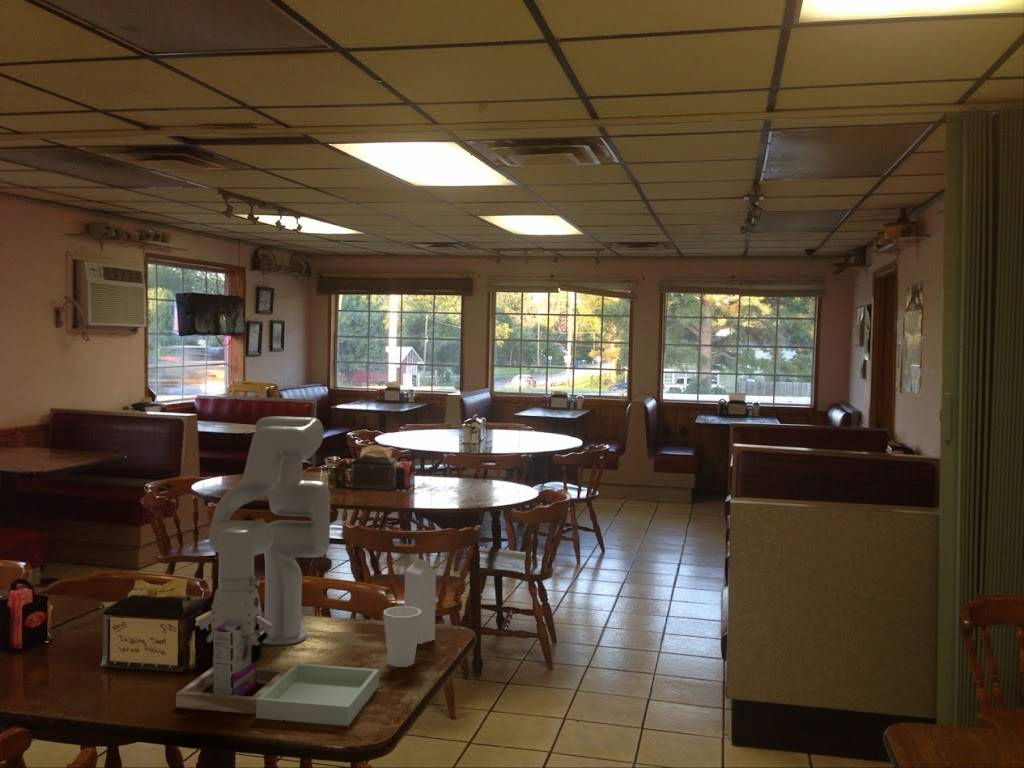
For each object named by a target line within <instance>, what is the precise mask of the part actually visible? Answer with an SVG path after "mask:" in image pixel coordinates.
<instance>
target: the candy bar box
mask: <svg viewBox="0 0 1024 768" xmlns="http://www.w3.org/2000/svg"><path fill="white" fill-rule="evenodd" d="M252 645H254V643H253V642H252V641H251V639H250V638H249V637H248V636H247V637H244V636H241V628H240V626H229V625H220V626H219V627H217V628H215V629H214V630H213V660H212V662H213V665H212V667H213V685H212V689H213V690H212V691H213V694H225V695H237V696H246V695H247V694H249V692H251V691H252V690H253V689H255V688H256V687H257V683H256V668H257V662H256V663H251V647H252Z"/></svg>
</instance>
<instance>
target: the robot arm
mask: <svg viewBox="0 0 1024 768" xmlns="http://www.w3.org/2000/svg"><path fill="white" fill-rule="evenodd" d="M323 438H324V426H323V424H322V421H320V419H318V418H316V417H311V416H308V417H307V416H305V417H303V416H283V415H282V416H279V415H278V416H277V415H275V416H265V417H262V418H260V419H258V420H257V421H256V424H255V432H254V434H253V436H252V439H251V443H250V447H249V451H248V455H247V460H246V463H245V468H244V471H243V477H242V479H241V480H239V482H237V483H236V484H234V485H233V486H232V487H231V488H229V490H228V491H226V493H224V495H223V496H222V497H220V500H219V501H218V502H217V505H216V506H215V509H214V511H213V516H212V520H211V522H210V527H209V533H208V543H209V547H210V549H211V550H213V552H215V553H217V554H218V588H216V590H215V593H214V597H213V602H212V607H211V614H209V615H208V616H207V615H206V616H205V617H203V618H201V619H198V621H197V624H198V627H199V629H200V630H201V634H202V635H203V636H204V637H205V638H206V642H207V643H208V655H209V660H210V661H213V630H214V629H215V628H217V627H219V626H220V625H229V626H240V628H241V636H244V637H247V636H248V637H249V638H250V639H251V641H252V642H253V643H254V645H252V647H251V663H256V664H257V662H258V661H260V660H261V658H262V656H263V655H262V653H263V652H262V648H263V647H262V646H263V644H265V645H270V646H271V645H272V646H284V645H285V646H286V645H293V644H297V643H300V642H303V641H304V640H305V639H306V638H307V637H308V636H307V635H308V634H307V633H308V632H307V631H306V630H305V629H303V628H302V621H303V620H304V616H303V614H302V589H303V588H302V586H303V584H302V582H303V574H302V570H301V567H300V565H299V563H298V561H297V560H296V558H321V557H323V556H325V555H326V554H327V552H328V550H329V546H330V535H331V534H330V533H331V525H330V523H331V492H330V490H329V489H330V488H329V487H328V485H327V483H326V482H324V481H320V480H305V479H304V478H303V461H307V460H308V459H310V458H311V457H312V456H313V455H314V454H315V453H316V452H317V450H318V449H319V448H320V447H321V445H322V442H323ZM266 496H268V503H269V505H268V506H269V509H270V511H271V512H272V513H273V514H274V515H277V516H289V517H308V518H310V520H292V519H291V520H290V519H286V520H285V519H284V520H283V519H280V520H273V521H271V522H269V523H268V522H265V521H262V520H261V521H259V520H239V519H238V520H233V519H232V520H231V519H230V518H232V515H233V514H234V513H235V512H236V511H237V510H238V509H239V508H241V507H242V506H244V505H246V504H249V503H250V502H253V501H256V500H258V499H261V498H263V497H266ZM262 554H264V567H265V568H264V572H265V573H264V577H265V578H264V617H262V612H261V611H262V610H261V602H260V595H259V590H258V588H257V587H258V586H260V579H256V575H255V556H258V555H262ZM256 586H257V587H256ZM255 587H256V588H255ZM209 622H210V627H209V625H208V623H209ZM261 628H263V630H262V631H260V630H261Z"/></svg>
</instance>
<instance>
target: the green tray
mask: <svg viewBox="0 0 1024 768" xmlns="http://www.w3.org/2000/svg"><path fill="white" fill-rule="evenodd" d="M288 670H289V671H287V672H286V673H285V674H284V675H283V676H282V677H281V678H280V679H279V680H277V681H276V682H275V683H274V684H273V685H272V686H271V687H270V688H269V689H267V690H266V691H265V692H264V693H263V694H262V695H261V696H260V697H258V698H257V699H256V714H255V718H256V719H262V720H273V721H274V720H275V721H283V720H285V721H286V722H295V723H309V724H319V725H321V724H322V725H332V726H343V727H349V726H350V725H351V724H352V723H353V721H354V719H356V717H357V715H358V714H359V713H360V712H361V710H362V709H363V708H364V707H363V706H365V705H366V704H367V703H368V702H369V700H370V699H371V698H372V696H373V695H374V694H375V693H376V692H377V690H378V689H379V687H380V669H377V668H376V669H375V668H365V667H364V668H363V667H362V668H361V667H351V666H350V667H349V666H336V665H334V666H333V665H325V664H322V665H321V664H311V663H308V664H307V663H295V664H294V665H293V666H292V667H291V668H290V669H288ZM377 688H378V689H377ZM374 692H375V693H374ZM373 693H374V694H373ZM370 697H371V698H370ZM366 702H367V703H366ZM362 707H363V708H362ZM359 711H360V712H359ZM285 721H284V722H285Z"/></svg>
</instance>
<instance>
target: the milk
mask: <svg viewBox="0 0 1024 768" xmlns="http://www.w3.org/2000/svg"><path fill="white" fill-rule="evenodd" d="M436 581H437V571H436V570H435V569H432V567H429V561H428V560H425V559H421V558H417V557H413V559H412V564H410V565H409V566H408V568H406V570H404V599H403V600H404V601H403V603H404V604H403V606H407V607H414V608H418V609H420V610H421V623H420V627H419V634H418V641H417V644H421V645H423V644H422V643H425V642H428V641H431V642H433V641H432V640H434V641H435V638H436V636H435V634H436V633H435V631H436V627H435V626H436V595H437V594H436V591H437V589H436V586H437V582H436ZM428 643H429V642H428ZM425 644H426V643H425Z"/></svg>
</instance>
